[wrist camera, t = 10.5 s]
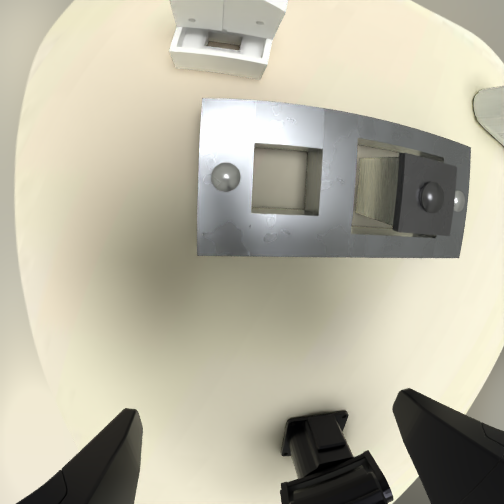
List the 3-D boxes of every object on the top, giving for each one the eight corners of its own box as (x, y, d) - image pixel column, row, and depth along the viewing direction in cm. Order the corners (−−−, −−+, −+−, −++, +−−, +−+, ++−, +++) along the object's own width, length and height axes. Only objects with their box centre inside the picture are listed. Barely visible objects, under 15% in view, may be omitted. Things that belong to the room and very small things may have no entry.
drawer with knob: (400, 219, 21) (452, 237, 15) (352, 214, 20) (400, 233, 14) (405, 164, 20) (460, 167, 14) (357, 155, 19) (408, 152, 13)
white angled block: (122, 9, 12) (172, -65, 6) (245, 46, 18) (333, 17, 12) (105, 54, 13) (144, -12, 7) (236, 86, 19) (326, 67, 13)
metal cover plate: (437, 248, 22) (462, 259, 19) (200, 243, 20) (196, 257, 16) (447, 147, 20) (473, 147, 16) (204, 109, 17) (201, 96, 14)
